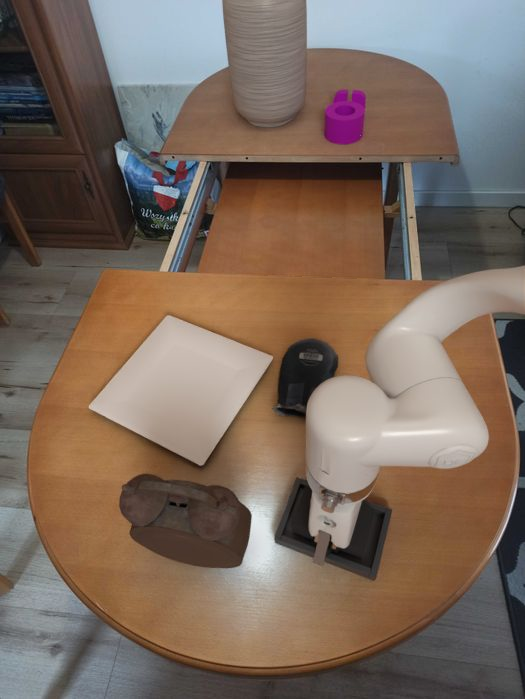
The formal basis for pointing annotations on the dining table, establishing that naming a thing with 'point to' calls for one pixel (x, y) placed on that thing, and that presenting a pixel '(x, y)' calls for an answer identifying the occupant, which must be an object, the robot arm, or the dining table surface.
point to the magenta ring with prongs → (345, 117)
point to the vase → (267, 58)
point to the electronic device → (303, 375)
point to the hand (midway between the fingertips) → (333, 523)
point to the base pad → (342, 559)
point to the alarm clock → (187, 520)
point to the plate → (182, 387)
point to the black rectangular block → (360, 529)
